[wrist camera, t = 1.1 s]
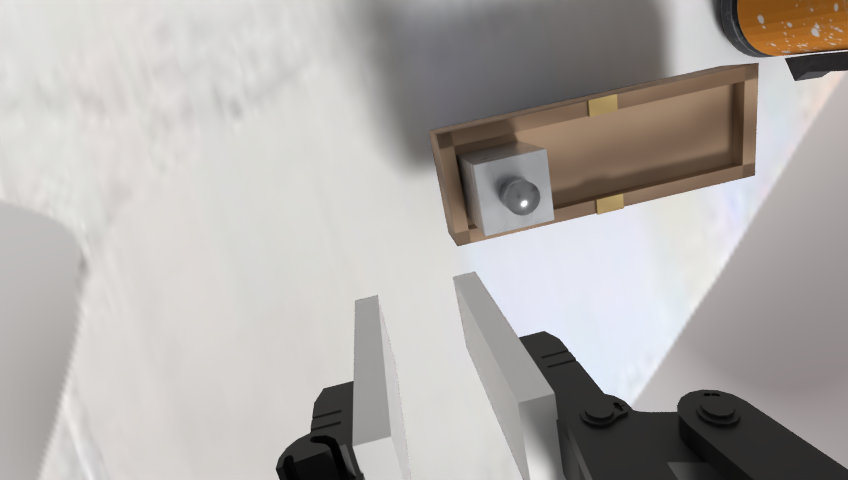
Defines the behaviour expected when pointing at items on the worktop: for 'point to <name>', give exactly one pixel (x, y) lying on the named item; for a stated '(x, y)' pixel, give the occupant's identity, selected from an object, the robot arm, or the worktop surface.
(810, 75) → the canister
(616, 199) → the beam
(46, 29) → the worktop surface
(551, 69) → the worktop surface
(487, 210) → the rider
